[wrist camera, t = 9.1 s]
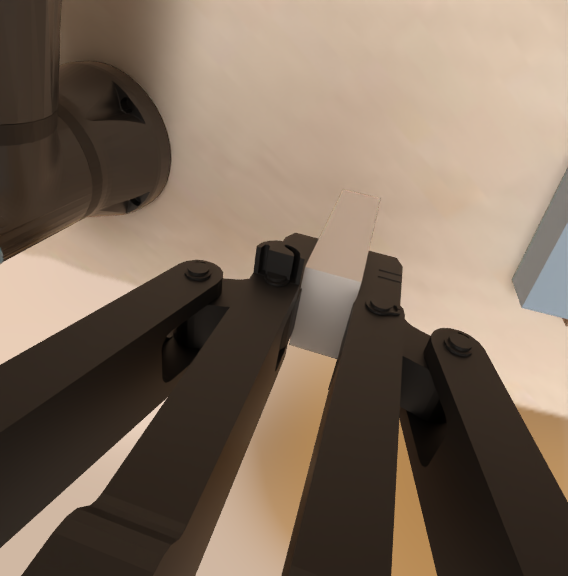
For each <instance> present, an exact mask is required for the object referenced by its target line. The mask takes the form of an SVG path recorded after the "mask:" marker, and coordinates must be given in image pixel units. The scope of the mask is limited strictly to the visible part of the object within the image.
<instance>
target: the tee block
mask: <svg viewBox="0 0 568 576" xmlns="http://www.w3.org/2000/svg"><path fill="white" fill-rule="evenodd" d="M512 281H513V284H514V287H515V290H516V293H517V296H518V299H519V302H520V305H521V307H522V308H525V309H529V310H533V311H537V312H541V313H545V314H549V315H553V316H557V317H561V318H565V319H568V168H567V170H566V172H565V174H564V176H563V178H562V180H561V182H560V184H559V186H558V188H557V190H556V192H555V194H554V196H553V198H552V200H551V202H550V204H549V206H548V208H547V210H546V212H545V214H544V216H543V218H542V220H541V222H540V224H539V226H538V228H537V230H536V232H535V234H534V236H533V238H532V240H531V242H530V244H529V246H528V248H527V250H526V252H525V254H524V256H523V258H522V260H521V262H520V264H519V266H518V268H517V270H516V272H515V274H514V276H513V278H512Z"/></svg>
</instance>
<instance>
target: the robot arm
mask: <svg viewBox="0 0 568 576" xmlns="http://www.w3.org/2000/svg"><path fill="white" fill-rule="evenodd" d="M60 22H61V0H0V264H1V263H2V262H4V261H6V260H7V259H9V258H11V257H13V256H15V255H17V254H19V253H20V252H22V251H24V250H26V249H28V248H30V247H32V246H33V245H35V244H37V243H39V242H41V241H43V240H44V239H46V238H48V237H50V236H52V235H54V234H56V233H57V232H59V231H61V230H63V229H65V228H67V227H69V226H70V225H72V224H74V223H76V222H78V221H80V220H82V219H83V218H86V217H97V216H113V215H124V214H128V213H131V212H134V211H136V210H138V209H140V208H142V207H143V206H145V205H147V204H149V203H150V202H152V201H153V200H154V199H155V198H156V197H157V196H158V195H159V194H160V193H161V191H162V189H163V188H164V186H165V184H166V181H167V178H168V175H169V169H170V146H169V140H168V136H167V132H166V129H165V126H164V124H163V121H162V119H161V117H160V114H159V112H158V111H157V109H156V107H155V105H154V104H153V102H152V101H151V99H150V98H149V97H148V95H147V94H146V93H145V91H144V90H143V89H142V88H141V87H140V86H139V85H138V84H137V83H136V82H135V81H134V80H133V79H131V78H130V77H129V76H128V75H126V74H125V73H123V72H122V71H120V70H118V69H116V68H114V67H112V66H110V65H107V64H104V63H100V62H94V61H83V62H69V63H65V64H62V65H59V59H60ZM380 199H381V198H378V197H374V196H370V195H366V194H361V193H357V192H353V191H349V190H345V189H343V190H342V192H341V194H340V196H339V198H338V200H337V203H336V205H335V207H334V209H333V211H332V213H331V215H330V217H329V219H328V221H327V223H326V225H325V227H324V229H323V231H322V233H321V235H320V237H319V239H317V238H313V237H310V236H306V235H302V234H298V233H294V234H292V235H290V236H287V237H286V238H285V239H284V241H267V242H263V243H261V244H259V245H258V246H257V249H256V257H255V265H254V273H253V274H252V276H251V277H250V278H249V279H244V280H235V279H223V272H222V270H221V268H220V267H218V266H217V265H215V264H214V263H211V262H207V261H203V260H192V261H186V262H183V263H180V264H178V265H176V266H175V267H173V268H171V269H169V270H167V271H166V272H164V273H162V274H160V275H159V276H157V277H155V278H153V279H152V280H150V281H148V282H146V283H144V284H143V285H141V286H139V287H137V288H136V289H134V290H132V291H130V292H129V293H127V294H125V295H123V296H122V297H120V298H118V299H116V300H114V301H113V302H111V303H109V304H107V305H105V306H104V307H102V308H100V309H98V310H97V311H95V312H93V313H91V314H90V315H88V316H86V317H84V318H83V319H81V320H79V321H77V322H75V323H74V324H72V325H70V326H68V327H67V328H65V329H63V330H61V331H60V332H58V333H56V334H54V335H52V336H51V337H49V338H47V339H46V340H44V341H42V342H40V343H38V344H37V345H35V346H33V347H31V348H29V349H28V350H26V351H24V352H22V353H20V354H19V355H17V356H15V357H13V358H12V359H10V360H8V361H6V362H5V363H3V364H1V365H0V548H1V547H2V546H3V545H4V544H5V543H6V542H7V541H9V540H10V539H11V538H12V537H13V536H14V535H15V534H16V533H17V532H19V531H20V530H21V529H22V528H23V527H24V526H25V525H26V524H27V523H29V522H30V521H31V520H32V519H33V518H34V517H35V516H36V515H37V514H38V513H40V512H41V511H42V510H43V509H44V508H45V507H46V506H47V505H48V504H50V503H51V502H52V501H53V500H54V499H55V498H56V497H57V496H58V495H60V494H61V493H62V492H63V491H64V490H65V489H66V488H67V487H68V486H70V484H72V483H73V482H74V481H75V480H76V479H77V478H78V477H79V476H81V475H82V474H83V473H84V472H85V471H86V470H87V469H88V468H90V467H91V466H92V465H93V464H94V463H95V462H96V461H97V460H98V459H99V458H100V457H102V456H103V455H104V454H105V453H106V452H107V451H108V450H109V449H110V448H112V447H113V446H114V445H115V444H116V443H117V442H118V441H119V440H121V438H123V437H124V436H125V435H126V434H127V433H128V432H129V431H131V430H132V429H133V428H134V427H135V426H136V425H137V424H138V423H139V422H141V421H142V420H143V419H144V418H145V417H146V416H147V415H148V414H149V413H151V412H152V411H153V410H154V409H155V408H156V407H157V406H158V405H159V404H160V403H162V402H163V401H164V400H165V399H166V398H167V397H168V398H167V399H166V401H165V402H164V404H163V405H162V406H161V408H160V409H159V411H158V412H157V414H156V415H155V417H154V418H153V420H152V421H151V422H150V424H149V425H148V427H147V429H146V430H145V431H144V433H143V434H142V436H141V437H140V439H139V440H138V441H137V443H136V444H135V446H134V447H133V449H132V450H131V452H130V453H129V455H128V456H127V458H126V459H125V460H124V462H123V463H122V465H121V466H120V468H119V469H118V471H117V472H116V474H115V475H114V476H113V478H112V479H111V481H110V482H109V484H108V485H107V487H106V488H105V490H104V491H103V492H102V494H101V495H100V496H99V498H98V499H97V500H96V501H95V502H93V503H92V504H91V505H90V506H84V507H80V508H77V509H76V510H74V511H73V512H72V513H71V514H69V515H68V516H67V517H66V518H65V519H64V520H63V521H62V522H61V524H60V525H59V526H58V527H57V528H56V529H55V531H54V532H53V533H52V535H51V536H50V537H49V539H48V540H47V541H46V543H45V544H44V546H43V547H42V548H41V549H40V551H39V552H38V554H37V555H36V556H35V558H34V559H33V560H32V562H31V563H30V564H29V566H28V567H27V569H26V570H25V571H24V573H23V574H22V575H21V576H195V575H196V572H197V570H198V568H199V565H200V563H201V560H202V558H203V555H204V553H205V550H206V548H207V546H208V543H209V541H210V538H211V536H212V533H213V531H214V528H215V526H216V523H217V521H218V519H219V516H220V514H221V511H222V509H223V507H224V504H225V501H226V499H227V497H228V494H229V492H230V489H231V487H232V485H233V482H234V479H235V477H236V475H237V472H238V470H239V467H240V465H241V462H242V460H243V457H244V455H245V453H246V450H247V448H248V445H249V443H250V441H251V438H252V436H253V433H254V431H255V428H256V426H257V424H258V421H259V418H260V416H261V413H262V411H263V409H264V406H265V404H266V401H267V399H268V396H269V394H270V392H271V389H272V387H273V384H274V382H275V380H276V377H277V375H278V372H279V370H280V367H281V365H282V362H283V360H284V357H285V354H286V349H287V344H288V341H289V339H290V343H289V345H292V346H295V347H299V348H302V349H305V350H309V351H312V352H315V353H319V354H322V355H325V356H329V357H332V358H335V359H337V362H336V366H335V368H334V372H333V375H332V379H331V382H330V385H329V388H328V390H329V392H328V395H327V400H326V403H325V407H324V411H323V415H322V419H321V423H320V427H319V431H318V434H317V439H316V443H315V446H314V450H313V454H312V458H311V462H310V466H309V470H308V474H307V478H306V482H305V486H304V489H303V493H302V497H301V501H300V505H299V509H298V513H297V517H296V521H295V525H294V529H293V532H292V536H291V541H290V544H289V548H288V552H287V556H286V560H285V564H284V568H283V572H282V576H391V567H392V547H393V528H394V510H395V509H394V508H395V490H396V471H397V452H398V433H399V418H400V422H401V427H402V430H403V435H404V439H405V443H406V447H407V451H408V455H409V460H410V464H411V468H412V472H413V476H414V481H415V485H416V489H417V493H418V497H419V501H420V505H421V509H422V514H423V518H424V522H425V526H426V531H427V535H428V539H429V543H430V547H431V551H432V555H433V560H434V564H435V568H436V572H437V576H568V502H567V500H566V498H565V496H564V495H563V493H562V491H561V489H560V487H559V485H558V483H557V482H556V480H555V478H554V476H553V474H552V472H551V470H550V469H549V467H548V465H547V463H546V461H545V460H544V458H543V456H542V454H541V452H540V450H539V448H538V447H537V445H536V443H535V441H534V440H533V437H532V436H531V434H530V432H529V430H528V429H527V427H526V425H525V423H524V421H523V419H522V417H521V415H520V414H519V412H518V410H517V408H516V406H515V404H514V403H513V401H512V399H511V397H510V395H509V393H508V392H507V390H506V388H505V386H504V384H503V382H502V381H501V379H500V377H499V375H498V373H497V371H496V370H495V368H494V366H493V364H492V362H491V360H490V359H489V357H488V355H487V353H486V351H485V349H484V348H483V347H482V346H481V344H480V343H479V342H478V341H476V340H475V339H474V338H473V337H471V336H470V335H468V334H466V333H464V332H461V331H459V330H454V329H451V328H440V329H437V330H435V331H434V332H433V333H432V335H431V336H430V335H428V334H426V333H424V332H422V331H420V330H418V329H416V328H415V327H413V326H412V325H410V324H409V323H408V322H407V321H406V320H405V319H404V317H405V314H404V310H403V308H402V307H401V306H400V299H401V282H402V268H403V267H402V265H401V264H400V262H399V261H398V259H397V258H395V257H391V256H387V255H383V254H379V253H375V252H371V251H369V247H370V243H371V238H372V234H373V230H374V225H375V221H376V217H377V212H378V208H379V203H380ZM290 337H291V338H290Z"/></svg>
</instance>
